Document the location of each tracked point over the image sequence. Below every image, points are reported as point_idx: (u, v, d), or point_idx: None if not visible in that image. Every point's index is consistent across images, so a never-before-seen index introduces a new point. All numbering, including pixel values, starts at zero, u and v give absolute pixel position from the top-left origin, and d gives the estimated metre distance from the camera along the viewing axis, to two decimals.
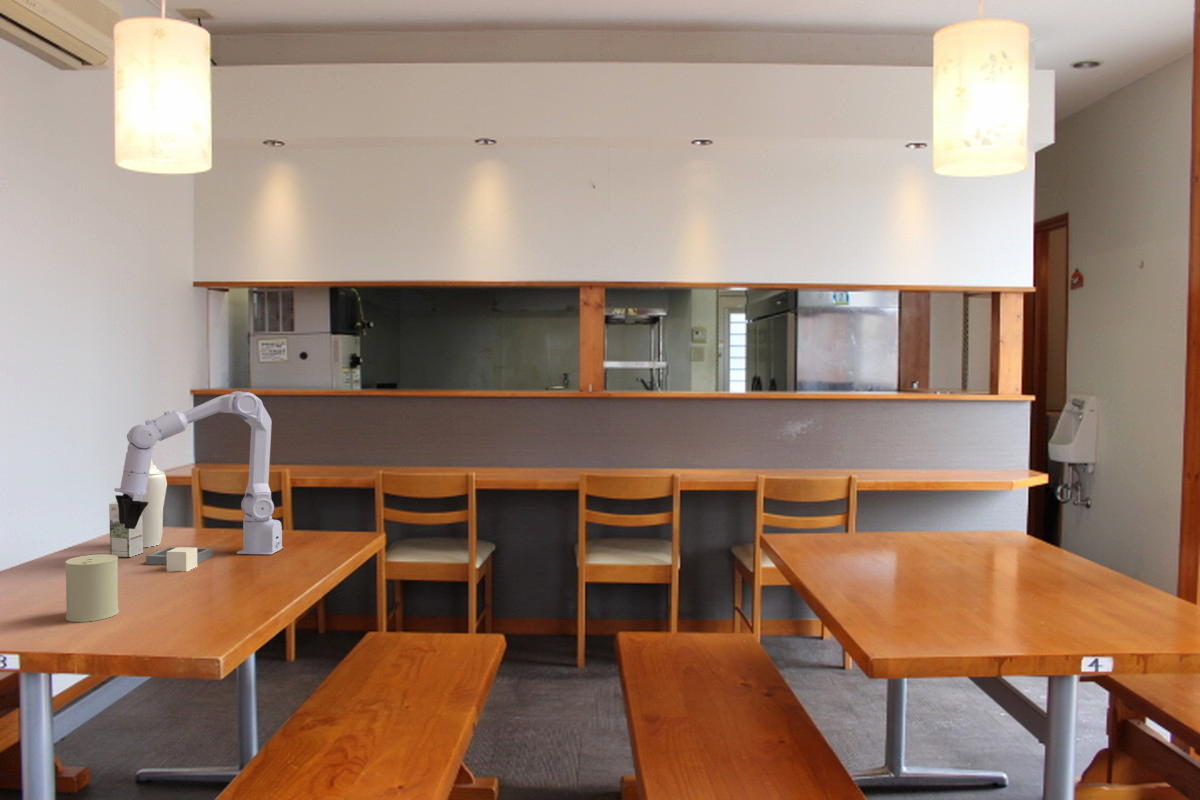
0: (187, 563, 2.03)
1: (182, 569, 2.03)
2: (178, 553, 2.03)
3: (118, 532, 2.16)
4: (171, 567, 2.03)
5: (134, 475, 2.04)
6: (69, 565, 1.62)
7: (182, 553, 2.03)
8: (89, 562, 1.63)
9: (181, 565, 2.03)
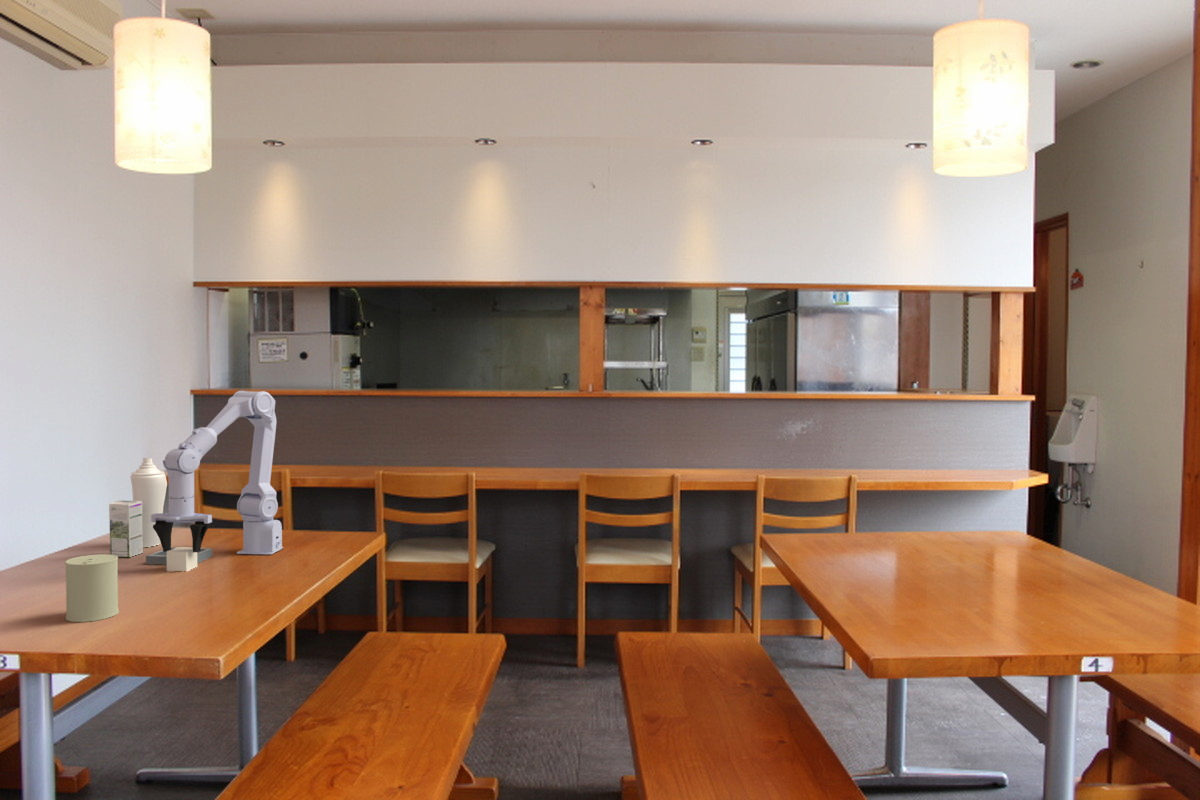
0: (187, 563, 2.03)
1: (182, 569, 2.03)
2: (178, 553, 2.03)
3: (118, 532, 2.16)
4: (171, 567, 2.03)
5: (190, 500, 2.04)
6: (69, 565, 1.62)
7: (182, 553, 2.03)
8: (89, 562, 1.63)
9: (181, 565, 2.03)
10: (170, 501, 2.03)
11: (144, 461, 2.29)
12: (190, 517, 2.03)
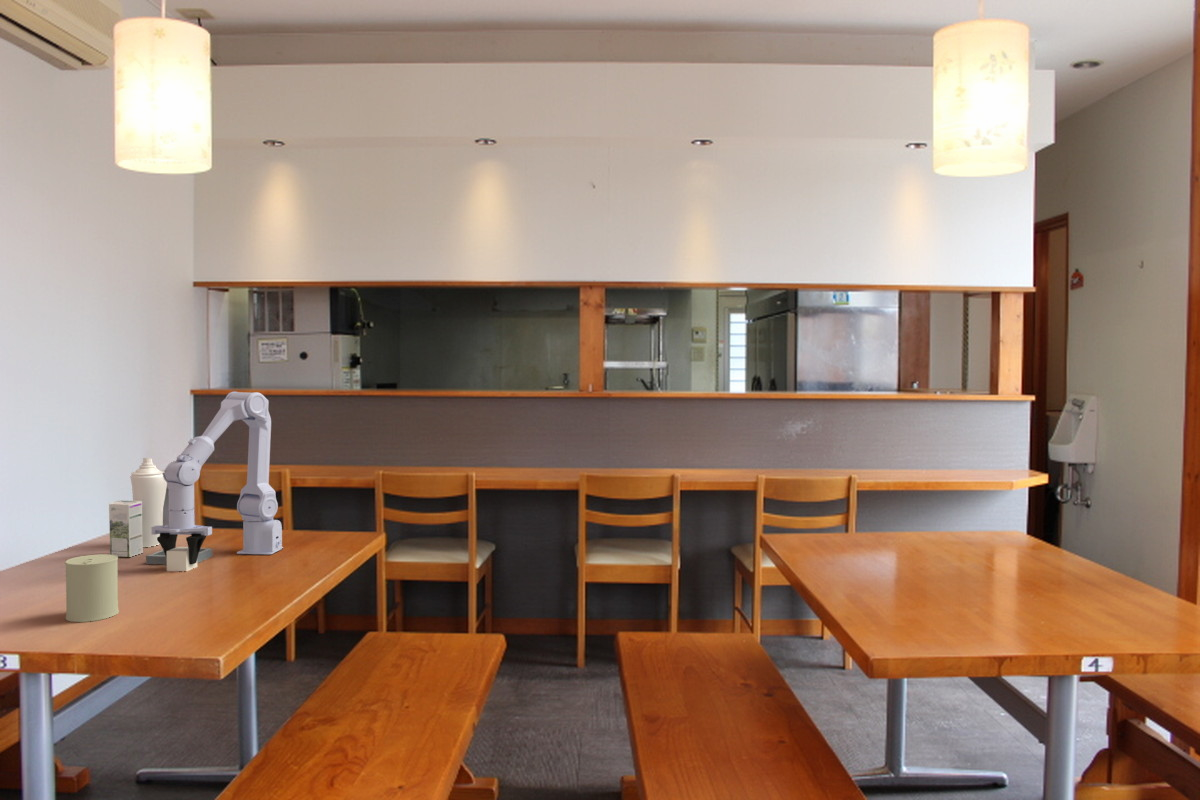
0: (187, 563, 2.03)
1: (182, 569, 2.03)
2: (178, 553, 2.03)
3: (118, 532, 2.16)
4: (171, 566, 2.03)
5: (190, 512, 2.04)
6: (69, 565, 1.62)
7: (182, 553, 2.03)
8: (89, 562, 1.63)
9: (181, 565, 2.03)
10: (170, 513, 2.03)
11: (144, 461, 2.29)
12: (190, 529, 2.03)
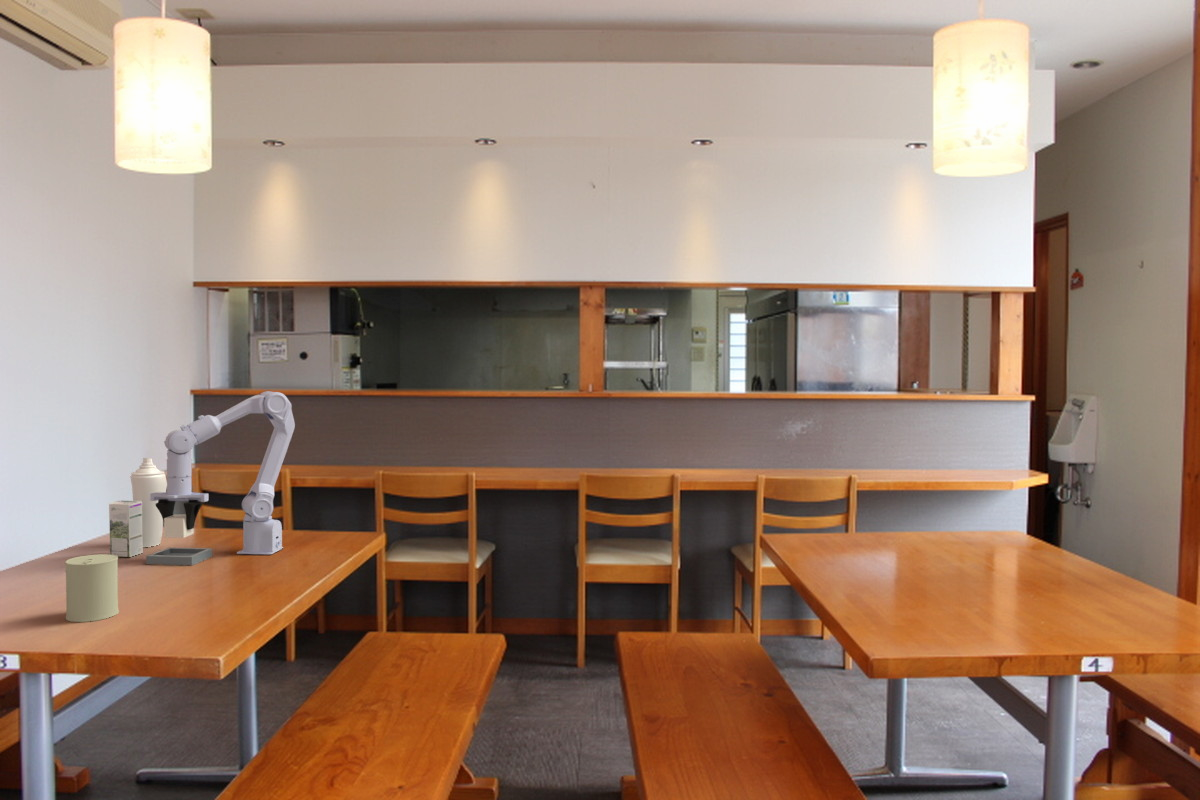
0: (184, 529, 2.12)
1: (179, 535, 2.11)
2: (175, 519, 2.11)
3: (118, 532, 2.16)
4: (169, 533, 2.11)
5: (187, 479, 2.13)
6: (69, 565, 1.62)
7: (179, 519, 2.11)
8: (89, 562, 1.63)
9: (178, 531, 2.11)
10: (168, 480, 2.11)
11: (144, 461, 2.29)
12: (187, 496, 2.12)
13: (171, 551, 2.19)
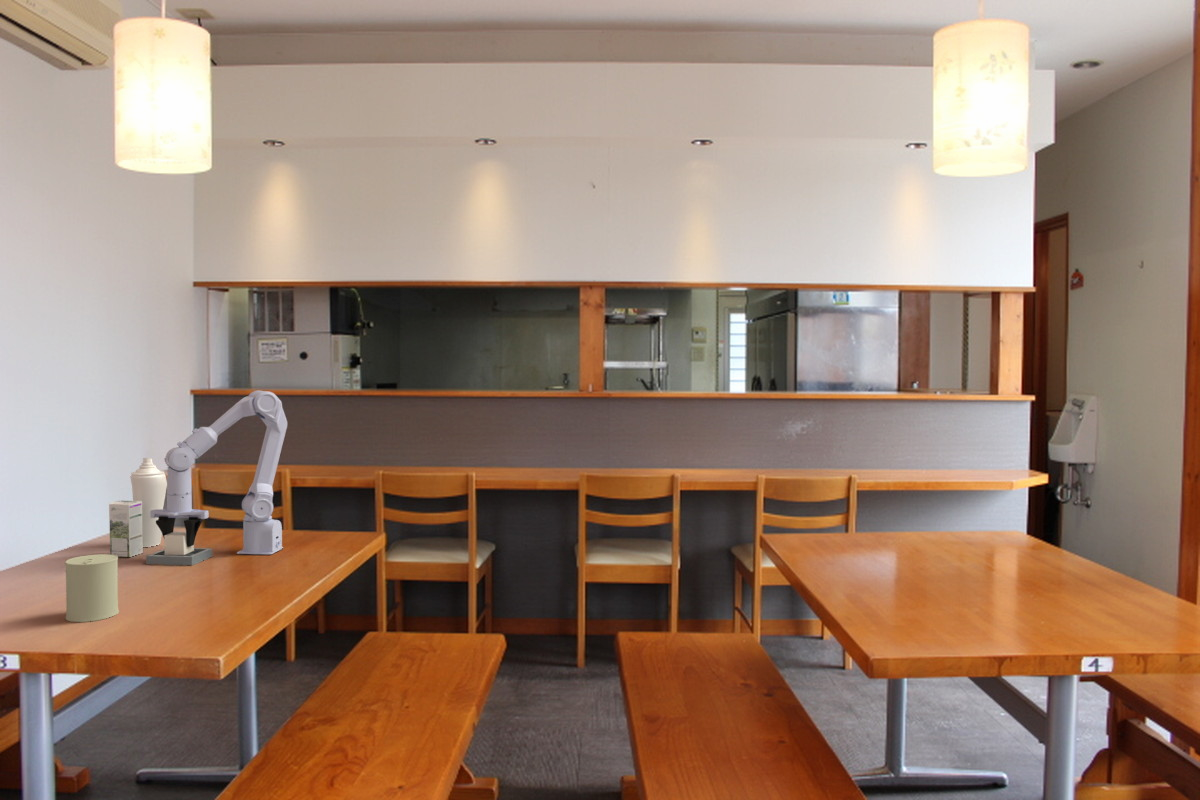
0: (184, 546, 2.12)
1: (179, 552, 2.11)
2: (175, 537, 2.11)
3: (118, 532, 2.16)
4: (169, 550, 2.12)
5: (188, 496, 2.13)
6: (69, 565, 1.62)
7: (179, 537, 2.11)
8: (89, 562, 1.63)
9: (179, 548, 2.11)
10: (168, 498, 2.11)
11: (144, 461, 2.29)
12: (188, 513, 2.12)
13: None
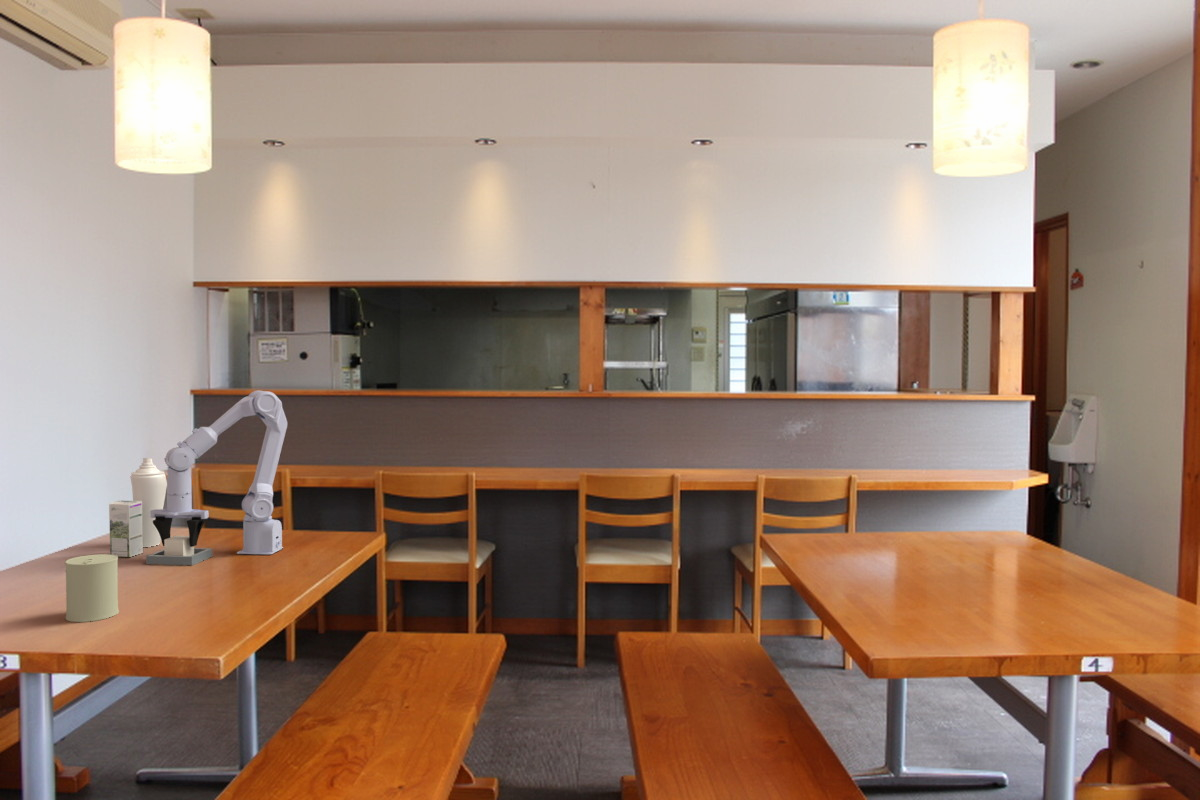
0: (183, 551, 2.12)
1: None
2: (175, 541, 2.11)
3: (118, 532, 2.16)
4: (169, 554, 2.12)
5: (188, 496, 2.13)
6: (69, 565, 1.62)
7: (179, 541, 2.11)
8: (89, 562, 1.63)
9: (178, 553, 2.11)
10: (168, 497, 2.11)
11: (144, 461, 2.29)
12: (188, 513, 2.12)
13: None
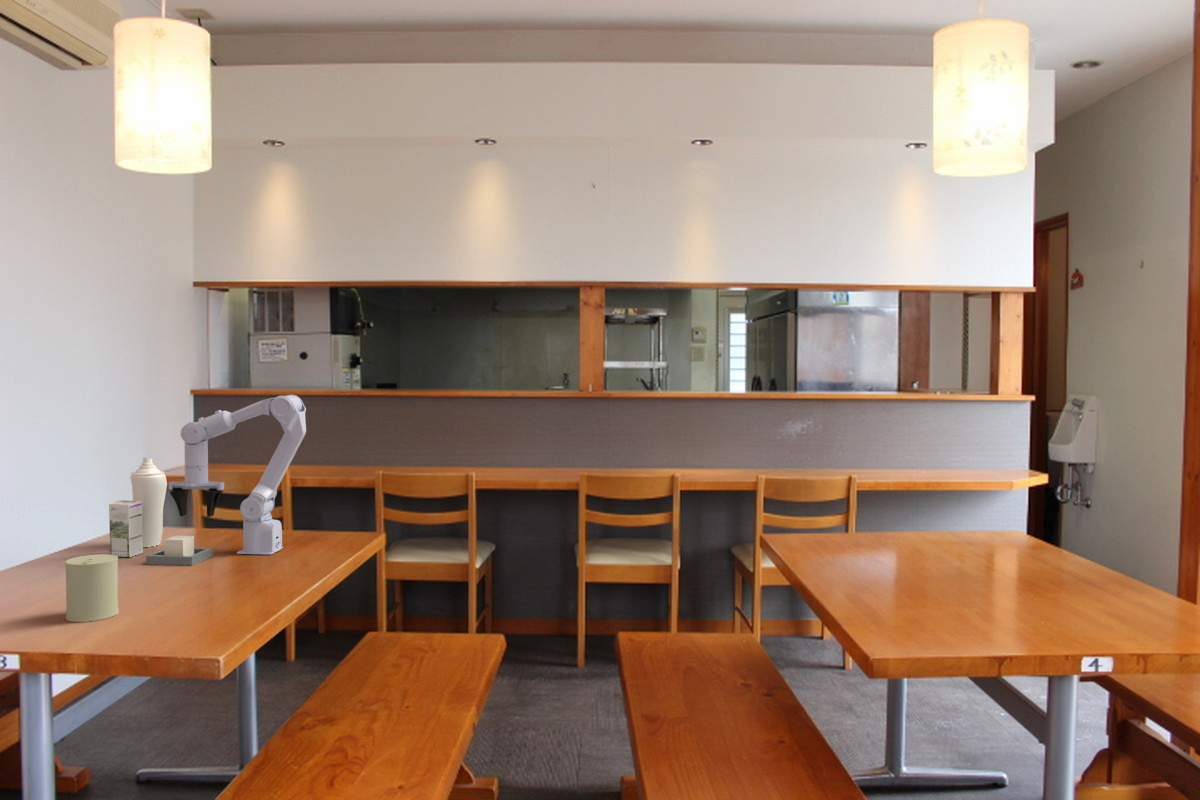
0: (183, 551, 2.12)
1: None
2: (175, 541, 2.11)
3: (118, 532, 2.16)
4: (169, 554, 2.12)
5: (204, 468, 2.23)
6: (69, 565, 1.62)
7: (179, 541, 2.11)
8: (89, 562, 1.63)
9: (178, 553, 2.11)
10: (186, 469, 2.21)
11: (144, 461, 2.29)
12: (204, 484, 2.21)
13: None
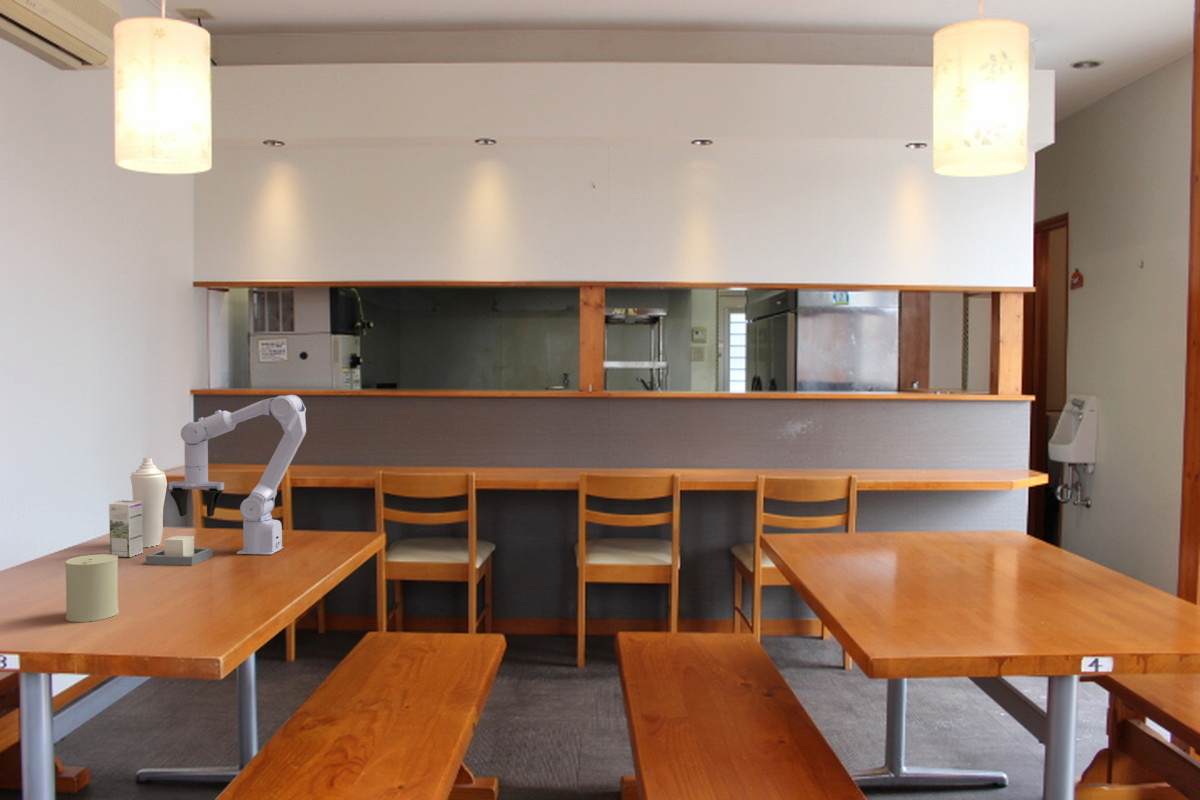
0: (183, 551, 2.12)
1: None
2: (175, 541, 2.11)
3: (118, 532, 2.16)
4: (169, 554, 2.12)
5: (204, 468, 2.23)
6: (69, 565, 1.62)
7: (179, 541, 2.11)
8: (89, 562, 1.63)
9: (178, 553, 2.11)
10: (186, 469, 2.21)
11: (144, 461, 2.29)
12: (204, 484, 2.21)
13: None
